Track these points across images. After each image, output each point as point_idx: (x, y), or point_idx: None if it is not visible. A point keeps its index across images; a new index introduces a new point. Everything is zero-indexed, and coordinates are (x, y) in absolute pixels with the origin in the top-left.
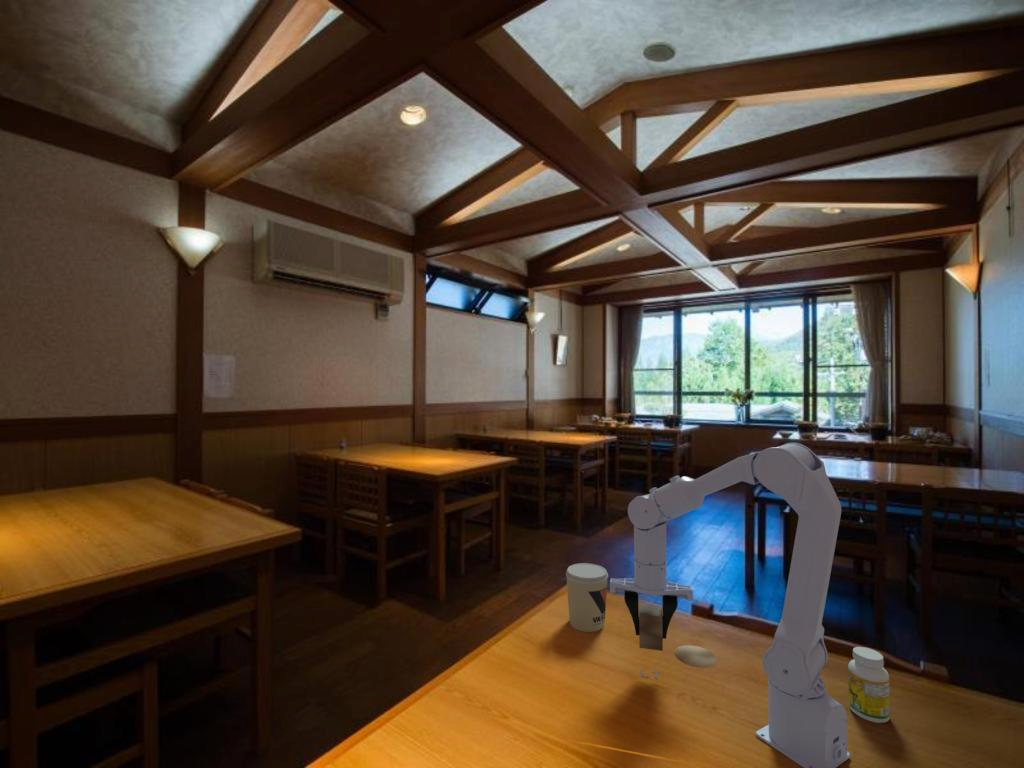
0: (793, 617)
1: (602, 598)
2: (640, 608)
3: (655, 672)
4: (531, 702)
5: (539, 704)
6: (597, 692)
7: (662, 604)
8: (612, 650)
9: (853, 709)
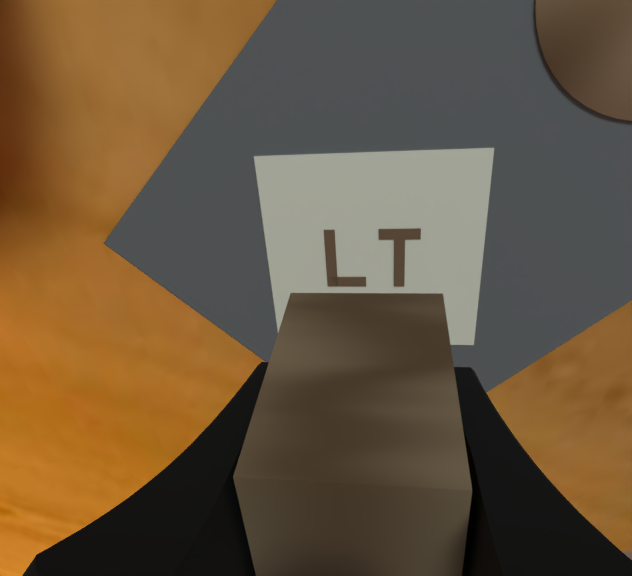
0: None
1: None
2: (256, 533)
3: (394, 240)
4: (25, 463)
5: (49, 466)
6: (184, 395)
7: (487, 531)
8: (147, 77)
9: None
